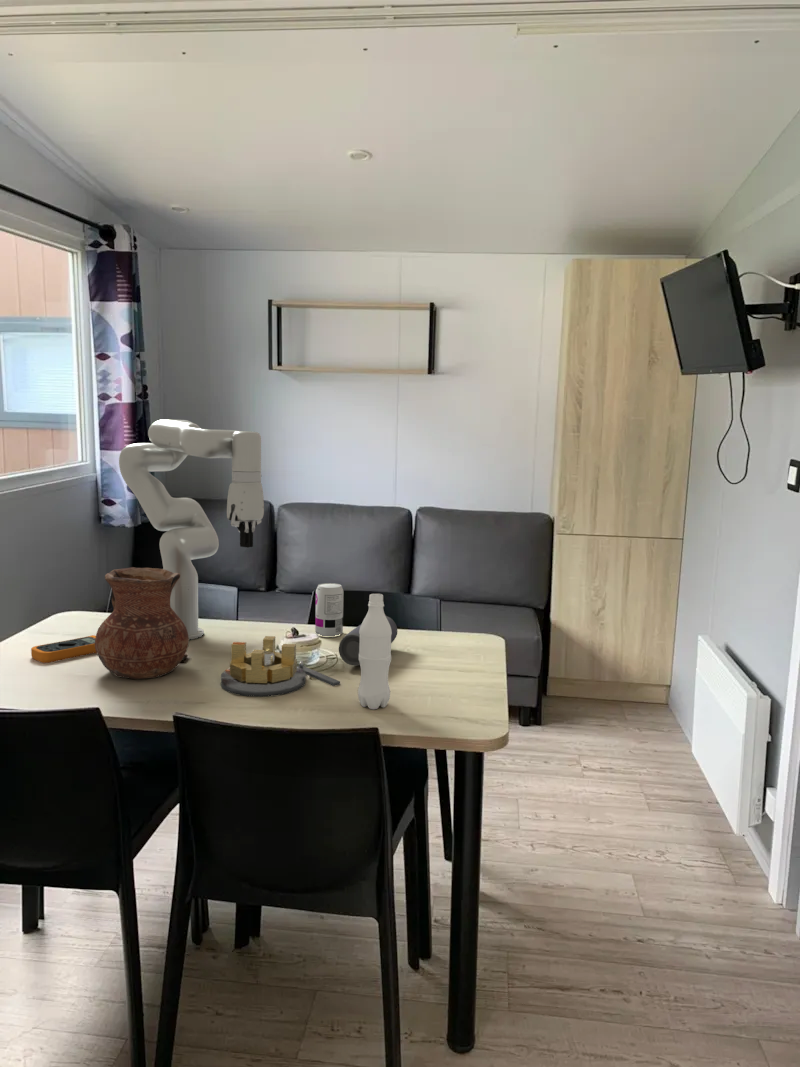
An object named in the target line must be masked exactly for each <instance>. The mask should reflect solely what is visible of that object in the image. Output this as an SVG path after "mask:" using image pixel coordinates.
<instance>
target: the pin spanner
mask: <svg viewBox="0 0 800 1067" xmlns="http://www.w3.org/2000/svg"><path fill="white" fill-rule="evenodd" d="M298 662H299V664H298V665H297V666H298V667H300V668H302V669H303V670H304V671H305V673H306V676H309V677H311V678H314V679H316V680H318V681H321V682H322V683H325V684H328V685H329V686H332V687H335V686H340V685H341V681H340V680H337V679H335V678H333V677H331V676H328V675H326V674H323V673H322V672H319V671H316V670H314V669H311V668H310V667H307V666H305V665H304V661H303V660H299V661H298Z"/></svg>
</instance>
